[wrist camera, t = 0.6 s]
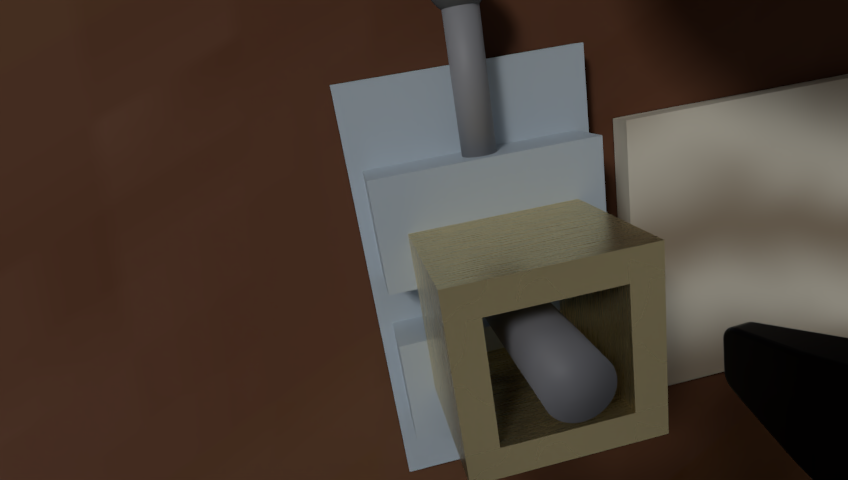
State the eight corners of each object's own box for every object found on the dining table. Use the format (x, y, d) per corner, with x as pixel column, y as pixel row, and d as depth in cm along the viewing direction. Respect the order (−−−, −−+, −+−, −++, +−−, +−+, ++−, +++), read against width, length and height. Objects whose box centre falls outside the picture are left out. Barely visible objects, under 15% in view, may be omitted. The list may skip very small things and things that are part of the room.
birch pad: (855, 323, 26) (875, 332, 25) (626, 381, 25) (637, 393, 24) (880, 67, 23) (905, 67, 22) (612, 118, 21) (626, 120, 20)
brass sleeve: (589, 351, 20) (668, 433, 16) (435, 388, 20) (470, 486, 15) (578, 198, 19) (664, 240, 14) (407, 233, 18) (437, 290, 13)
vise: (596, 407, 25) (736, 577, 17) (406, 456, 24) (451, 664, 15) (563, -62, 19) (757, -173, 10) (307, -24, 18) (291, -115, 9)
